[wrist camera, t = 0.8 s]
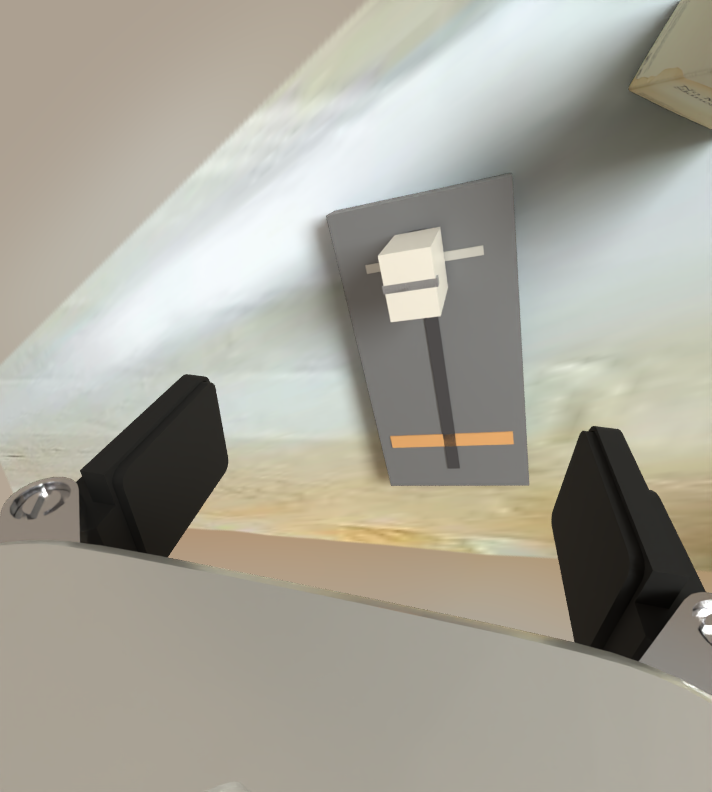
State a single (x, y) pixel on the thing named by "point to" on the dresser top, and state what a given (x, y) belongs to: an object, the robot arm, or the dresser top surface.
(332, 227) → the fader board
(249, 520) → the dresser top surface
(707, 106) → the skincare box
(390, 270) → the fader tab
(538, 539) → the dresser top surface
